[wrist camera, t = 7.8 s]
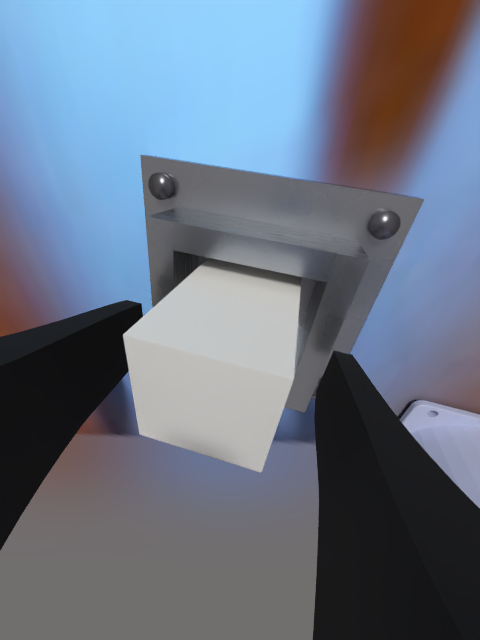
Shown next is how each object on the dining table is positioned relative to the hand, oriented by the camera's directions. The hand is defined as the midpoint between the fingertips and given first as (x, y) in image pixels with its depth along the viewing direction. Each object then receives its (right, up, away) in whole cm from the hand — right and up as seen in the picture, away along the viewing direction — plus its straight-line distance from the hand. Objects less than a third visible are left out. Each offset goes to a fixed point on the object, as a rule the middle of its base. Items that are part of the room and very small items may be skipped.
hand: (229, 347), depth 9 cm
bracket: (+1, +2, +4) cm, 5 cm away
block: (+1, +2, +3) cm, 4 cm away
